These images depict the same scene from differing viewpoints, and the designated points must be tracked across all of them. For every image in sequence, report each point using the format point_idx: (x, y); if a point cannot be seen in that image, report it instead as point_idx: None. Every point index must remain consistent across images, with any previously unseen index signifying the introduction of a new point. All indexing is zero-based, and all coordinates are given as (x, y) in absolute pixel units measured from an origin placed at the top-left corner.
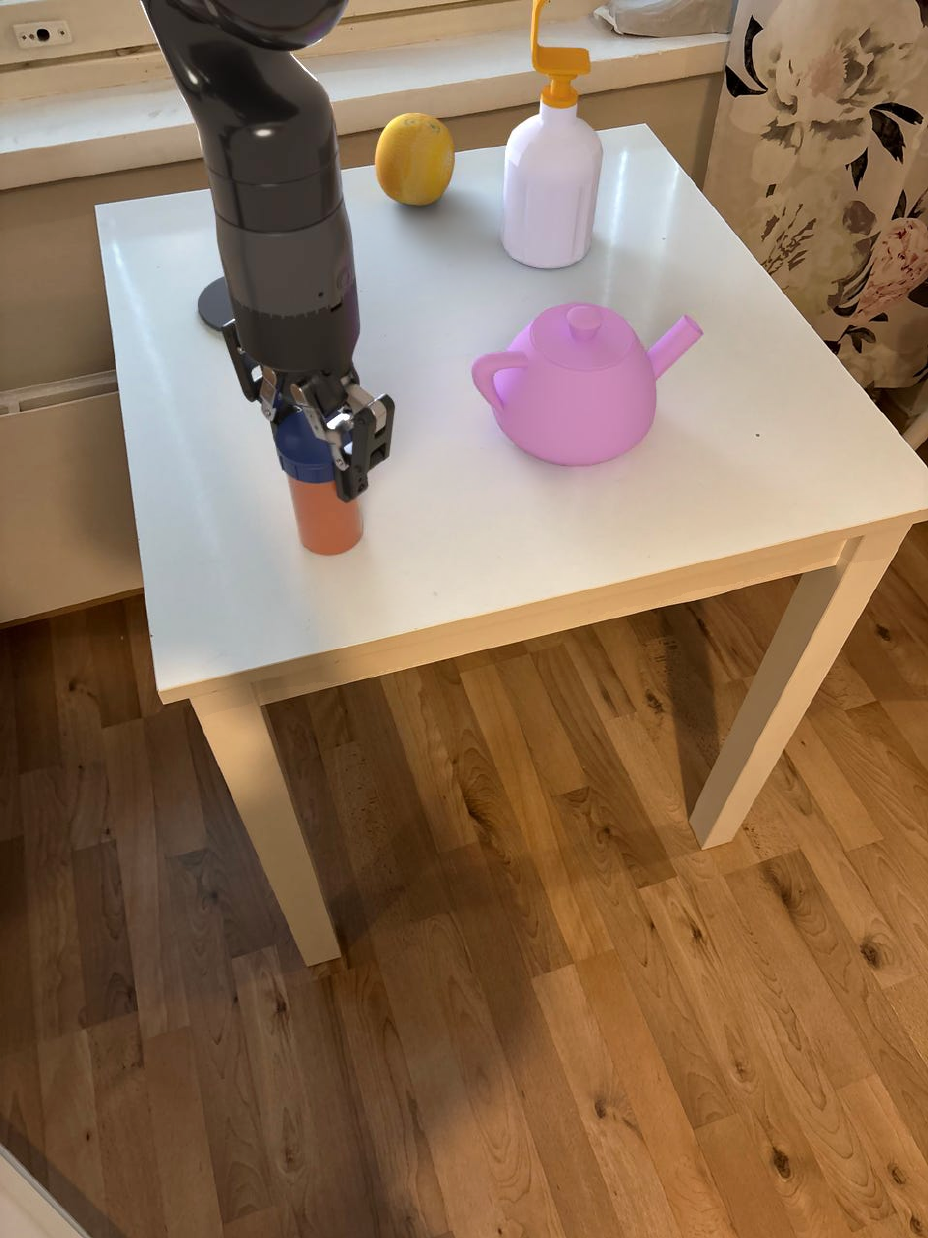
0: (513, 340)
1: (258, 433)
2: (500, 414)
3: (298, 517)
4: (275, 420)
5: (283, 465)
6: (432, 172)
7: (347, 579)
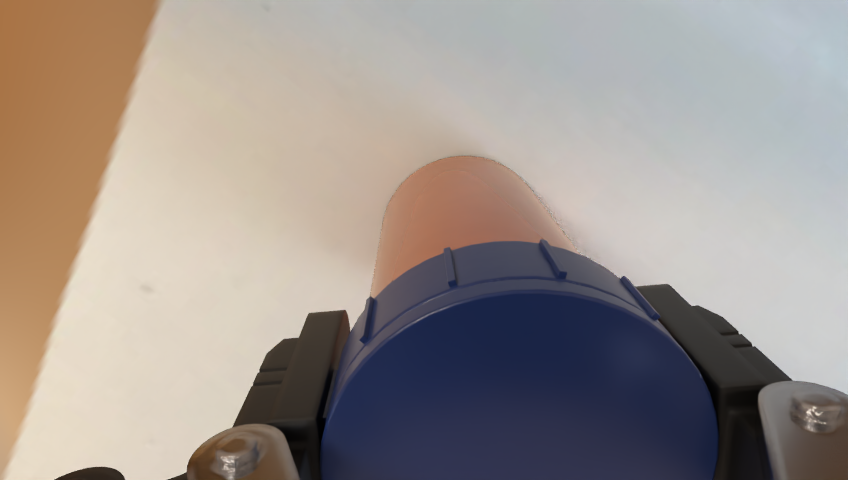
0: None
1: (843, 303)
2: None
3: (484, 183)
4: (753, 401)
5: (538, 255)
6: None
7: (312, 168)
